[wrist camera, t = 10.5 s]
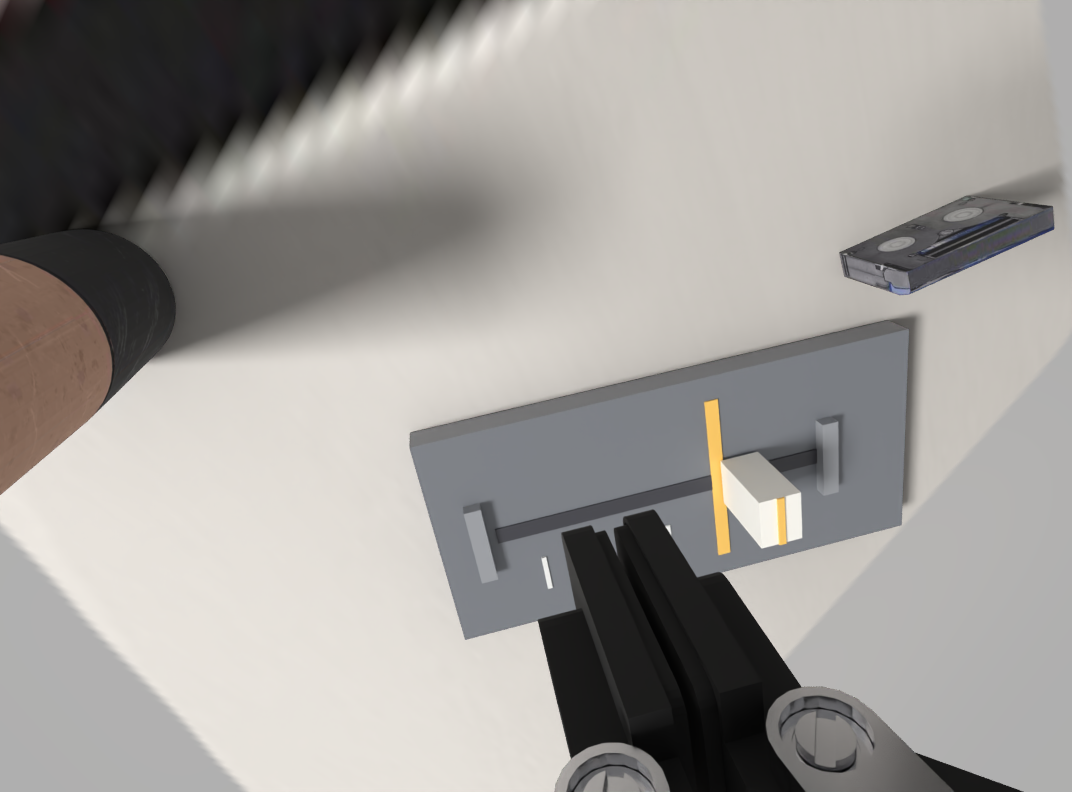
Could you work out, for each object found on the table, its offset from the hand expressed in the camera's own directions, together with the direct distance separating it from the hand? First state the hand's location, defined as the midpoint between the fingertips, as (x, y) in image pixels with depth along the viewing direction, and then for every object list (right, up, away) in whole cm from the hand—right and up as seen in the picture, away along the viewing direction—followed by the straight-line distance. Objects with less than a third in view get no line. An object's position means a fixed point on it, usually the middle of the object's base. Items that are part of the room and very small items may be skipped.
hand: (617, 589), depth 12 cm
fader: (+11, -2, +30) cm, 32 cm away
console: (+7, -2, +31) cm, 32 cm away
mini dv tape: (+20, +13, +28) cm, 37 cm away
